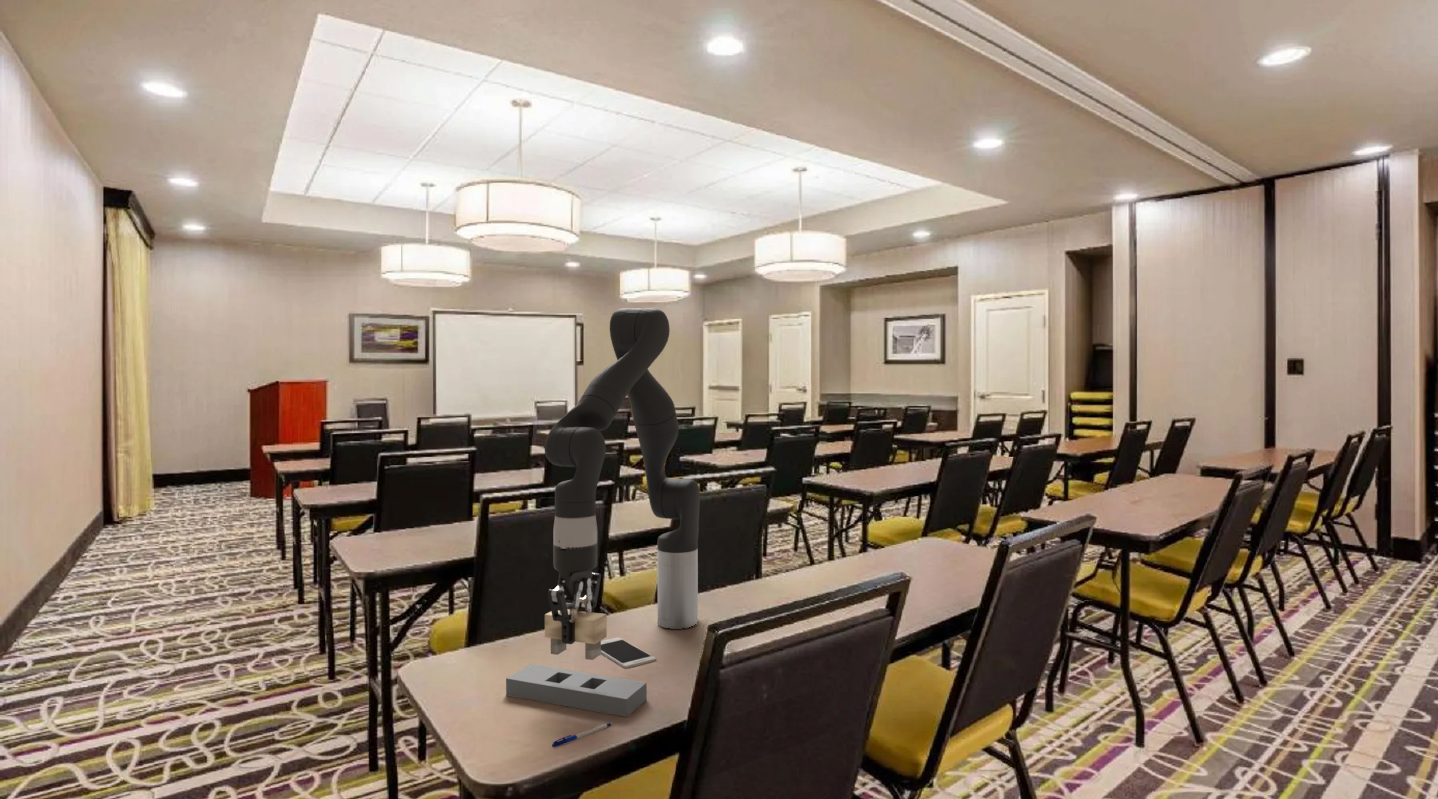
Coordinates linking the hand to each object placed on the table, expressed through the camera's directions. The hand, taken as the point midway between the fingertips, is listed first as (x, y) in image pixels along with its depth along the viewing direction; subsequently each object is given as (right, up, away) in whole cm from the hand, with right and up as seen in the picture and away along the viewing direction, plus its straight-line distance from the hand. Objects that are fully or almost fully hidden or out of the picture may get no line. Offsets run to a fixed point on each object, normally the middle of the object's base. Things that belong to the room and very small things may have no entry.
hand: (575, 638), depth 128 cm
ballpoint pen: (+4, -11, -14) cm, 18 cm away
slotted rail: (0, -10, 0) cm, 10 cm away
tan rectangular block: (0, -3, 0) cm, 3 cm away
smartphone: (+5, -11, +22) cm, 25 cm away
